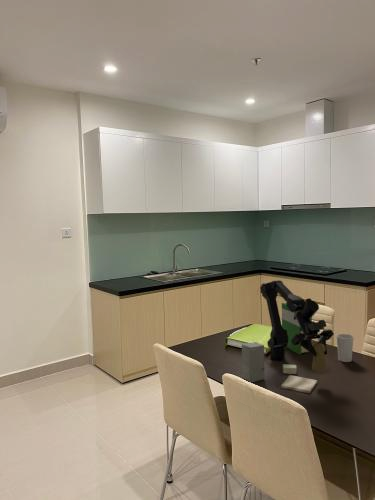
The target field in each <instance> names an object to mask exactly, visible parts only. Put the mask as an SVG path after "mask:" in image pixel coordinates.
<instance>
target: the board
mask: <svg viewBox="0 0 375 500" xmlns="http://www.w3.org/2000/svg"><path fill="white" fill-rule="evenodd" d="M317 383H318V380H316V379H312V378H307V377H301V376H297V375H293V374H289V375H288V377H287V378H286V379H285V380H284V381H283V382H282V384H281V387H280V388H283V389H288V390H292V391H295V392H296V391H297V392H301V393H306V394H311V392H312V391H313V390H314V388H315V386H316V385H317Z"/></svg>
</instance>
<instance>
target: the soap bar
mask: <svg viewBox="0 0 375 500" xmlns="http://www.w3.org/2000/svg"><path fill="white" fill-rule="evenodd" d="M282 373H283V374H288V375H297V365H296V364H282Z"/></svg>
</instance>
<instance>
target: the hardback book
mask: <svg viewBox="0 0 375 500" xmlns="http://www.w3.org/2000/svg"><path fill="white" fill-rule="evenodd" d="M297 312H298V311H295V312H291V311H290V310H289V309H288V307H287V306H286V301H285V302H281V325H282V327H283V329H286V330H287V335H288V344H287V347H286V348H287V349H289V350H290V351H292V352H293V353H295V354H298V355H302V353H309V354H311V353H310V352H309V351H308V350H306V349H305V348H304V347H302V346H300V344H301V343H299V345H294V346H293V344H292V342H291V340H292V338H293V337H294V336H295V335H296V334H300V333H303V332H302V331H300V328H301V327H300V325H299V323H298V321H297V319H296V320H294V315H295V314H296V313H297ZM310 319H311V321H313V317H311V318H310ZM299 342H300V341H299ZM311 344H312V345H313V339H311Z"/></svg>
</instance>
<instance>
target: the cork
mask: <svg viewBox="0 0 375 500" xmlns="http://www.w3.org/2000/svg"><path fill="white" fill-rule="evenodd" d="M312 346H313V348H314V350H315V352H316V355H317V356H314V355H312V356H313V357H312V364H311V370H312V371H314V372H320V373H322V372H326V371H327V364H326V357H325V354H324V352H325V350H326V348H327V347H326V348H325V345H323V344H320V343H314V344H312Z"/></svg>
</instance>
